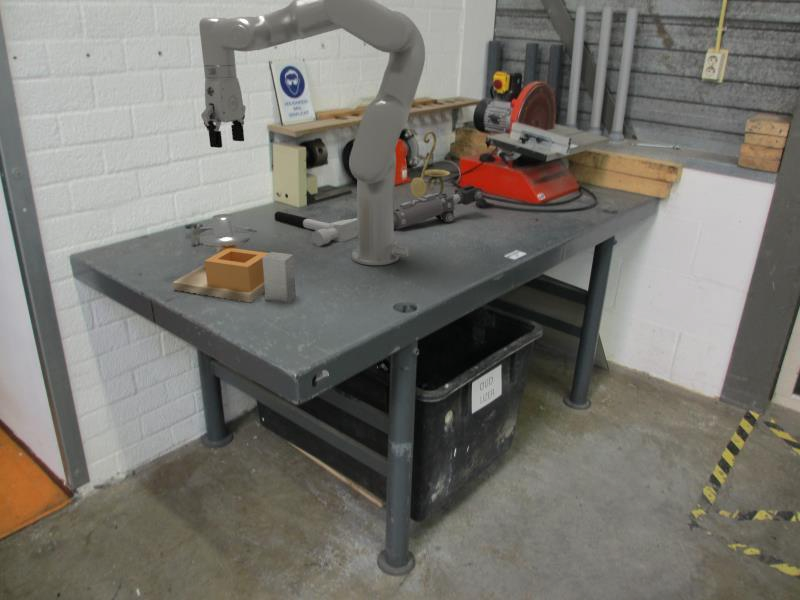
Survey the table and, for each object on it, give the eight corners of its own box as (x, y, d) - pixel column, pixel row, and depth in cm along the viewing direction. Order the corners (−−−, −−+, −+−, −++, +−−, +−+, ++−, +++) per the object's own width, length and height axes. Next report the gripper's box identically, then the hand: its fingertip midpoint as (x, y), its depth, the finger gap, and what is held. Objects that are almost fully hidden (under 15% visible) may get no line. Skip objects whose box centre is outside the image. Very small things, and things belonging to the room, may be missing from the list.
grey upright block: (295, 295, 144) (293, 254, 140) (287, 302, 141) (284, 260, 137) (274, 292, 146) (271, 251, 142) (265, 299, 142) (262, 257, 138)
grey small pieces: (193, 247, 174) (191, 225, 172) (191, 246, 175) (189, 224, 172) (256, 232, 187) (255, 211, 185) (254, 231, 188) (253, 210, 186)
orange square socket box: (293, 270, 159) (290, 216, 153) (249, 302, 140) (244, 242, 135) (221, 260, 165) (215, 208, 159) (170, 289, 146) (161, 232, 141)
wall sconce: (428, 210, 210) (430, 134, 200) (407, 205, 216) (408, 130, 206) (454, 203, 219) (457, 129, 209) (433, 197, 225) (435, 126, 215)
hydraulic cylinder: (486, 210, 203) (484, 180, 199) (390, 246, 188) (385, 215, 183) (472, 205, 209) (469, 176, 204) (377, 239, 194) (373, 208, 189)
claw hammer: (253, 214, 190) (323, 230, 173) (307, 200, 206) (376, 214, 188) (255, 231, 192) (324, 249, 175) (308, 216, 208) (376, 231, 191)
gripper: (212, 76, 146) (220, 151, 152) (253, 71, 160) (258, 139, 167) (185, 75, 148) (194, 148, 155) (227, 70, 163) (234, 137, 170)
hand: (227, 143), depth 161 cm, fingers open, 9 cm apart
